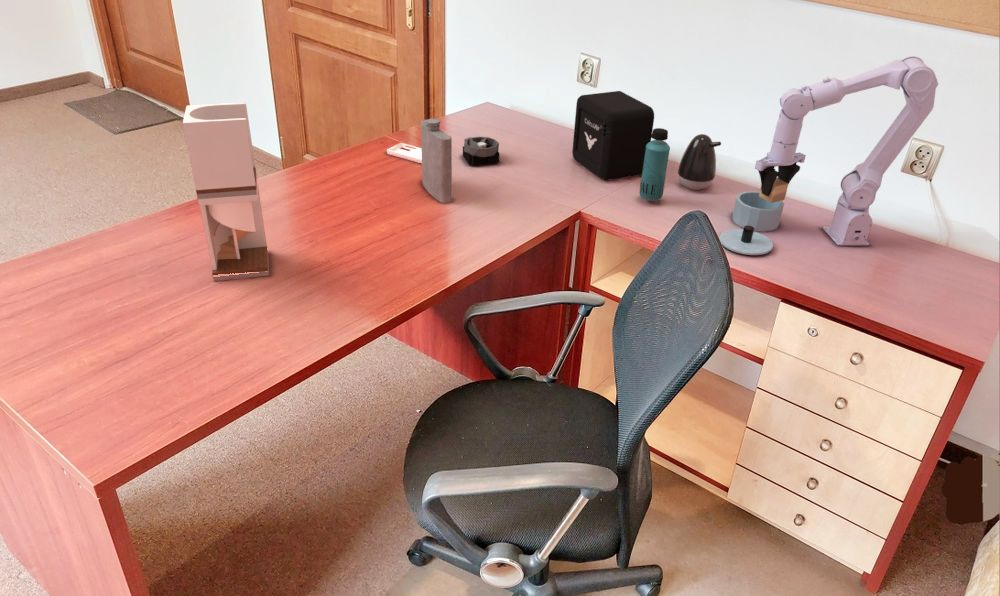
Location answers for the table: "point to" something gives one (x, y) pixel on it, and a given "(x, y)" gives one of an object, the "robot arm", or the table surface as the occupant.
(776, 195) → the block
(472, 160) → the cpu cooler
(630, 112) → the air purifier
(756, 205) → the tin
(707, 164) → the pump dispenser
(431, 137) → the hip flask
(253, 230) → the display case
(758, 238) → the lid
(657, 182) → the beverage bottle
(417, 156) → the phone case
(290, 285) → the table surface
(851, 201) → the robot arm
